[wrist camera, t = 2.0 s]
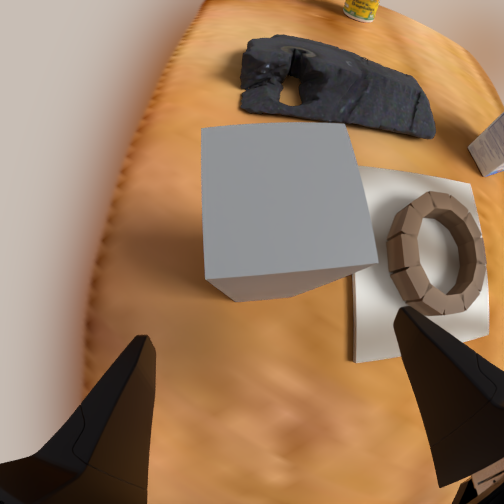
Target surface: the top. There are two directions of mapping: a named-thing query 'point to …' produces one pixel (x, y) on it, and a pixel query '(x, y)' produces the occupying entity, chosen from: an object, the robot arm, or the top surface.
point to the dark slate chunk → (333, 86)
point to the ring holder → (419, 261)
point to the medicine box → (490, 148)
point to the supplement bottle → (361, 9)
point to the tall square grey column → (282, 209)
